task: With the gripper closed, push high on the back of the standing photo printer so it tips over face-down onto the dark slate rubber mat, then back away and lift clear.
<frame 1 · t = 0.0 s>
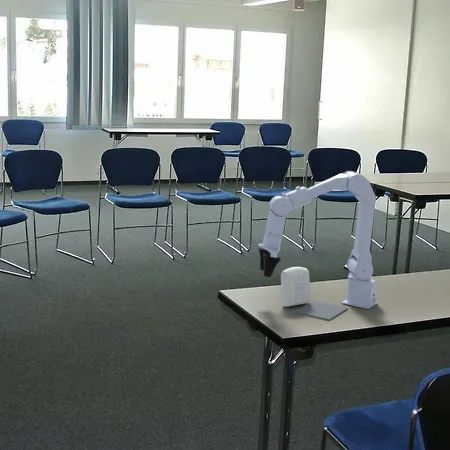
hand: (265, 273, 221), 11 cm above the table, tool pointing down, fingers open, 7 cm apart
slate mat: (321, 311, 217), on the table
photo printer: (296, 305, 222), on the table
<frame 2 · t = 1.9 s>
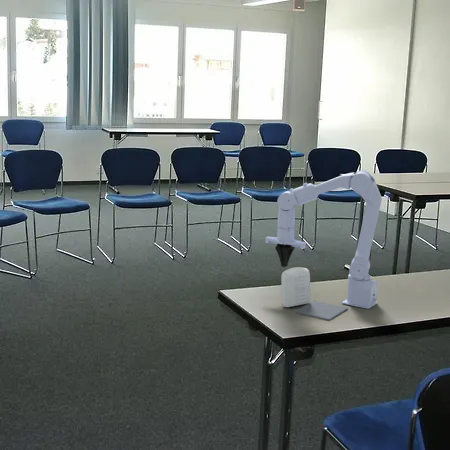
hand: (284, 266, 231), 10 cm above the table, tool pointing down, fingers closed
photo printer: (296, 305, 222), on the table, touching slate mat
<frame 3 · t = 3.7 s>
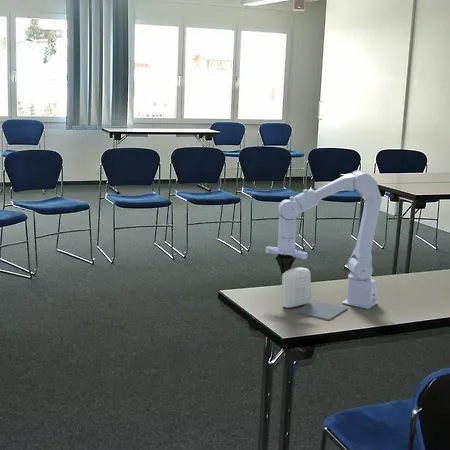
hand: (285, 277, 223), 9 cm above the table, tool pointing down, fingers closed
nothing on the table moved.
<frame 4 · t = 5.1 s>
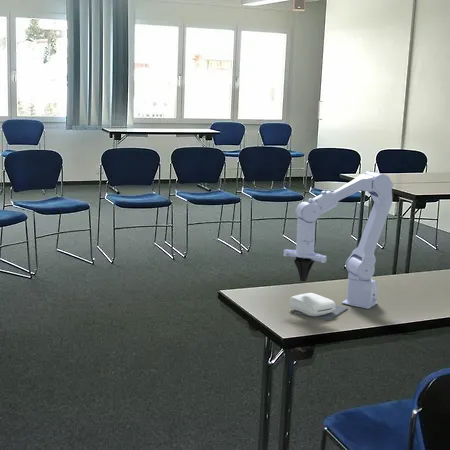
hand: (303, 280, 219), 9 cm above the table, tool pointing down, fingers closed
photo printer: (300, 299, 220), point 3 cm above the table, touching slate mat
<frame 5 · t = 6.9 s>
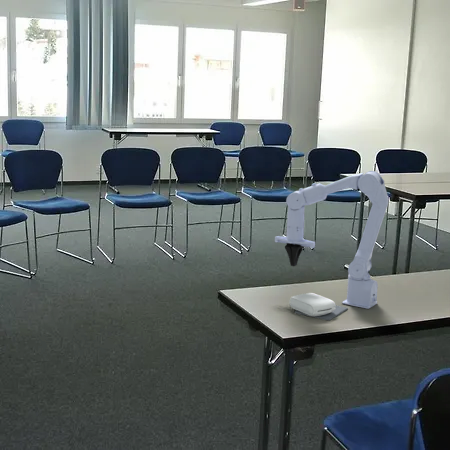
hand: (293, 265, 232), 10 cm above the table, tool pointing down, fingers closed
nothing on the table moved.
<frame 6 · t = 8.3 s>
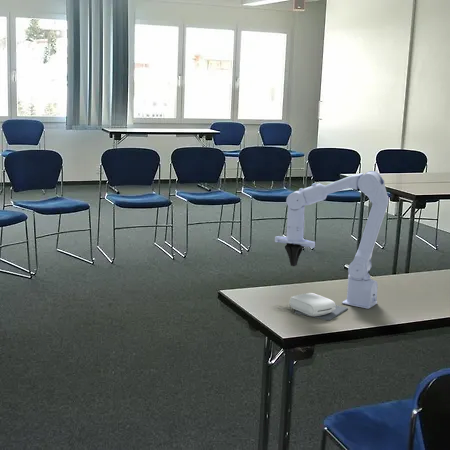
hand: (293, 265, 232), 10 cm above the table, tool pointing down, fingers closed
nothing on the table moved.
at the end: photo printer tilted 90°; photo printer touching slate mat; the gripper is holding nothing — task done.
